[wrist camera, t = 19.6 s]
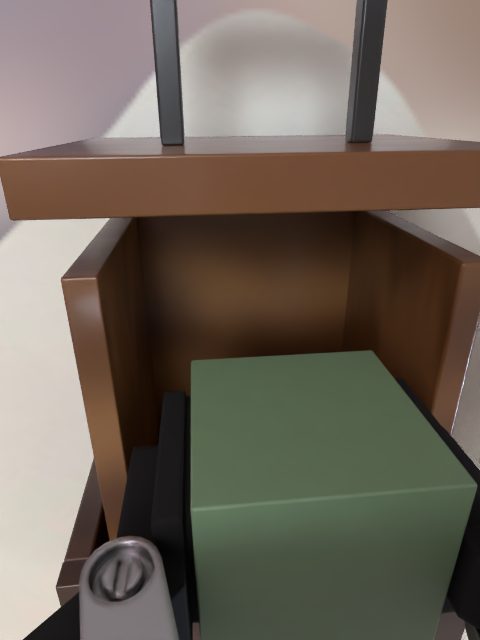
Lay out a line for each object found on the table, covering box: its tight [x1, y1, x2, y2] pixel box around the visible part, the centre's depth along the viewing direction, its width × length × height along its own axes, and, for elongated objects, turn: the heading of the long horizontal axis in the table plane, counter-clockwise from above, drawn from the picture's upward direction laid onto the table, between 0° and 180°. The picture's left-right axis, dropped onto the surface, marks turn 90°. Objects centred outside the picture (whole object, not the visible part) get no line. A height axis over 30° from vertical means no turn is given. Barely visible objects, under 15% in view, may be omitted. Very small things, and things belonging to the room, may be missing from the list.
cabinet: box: [56, 459, 465, 640], centre depth 20 cm, size 15×13×11 cm
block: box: [191, 350, 477, 640], centre depth 10 cm, size 4×4×4 cm
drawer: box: [0, 0, 480, 541], centre depth 14 cm, size 19×11×9 cm, turn 1°
